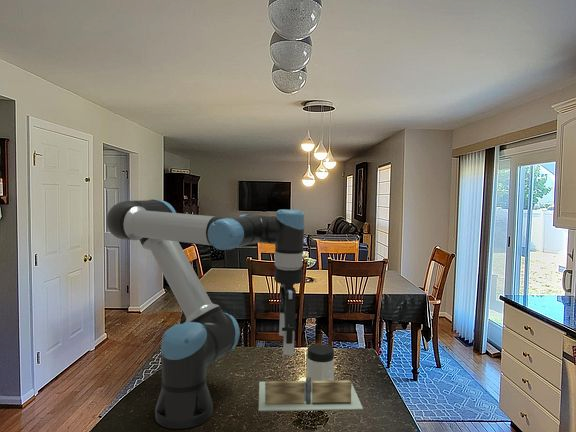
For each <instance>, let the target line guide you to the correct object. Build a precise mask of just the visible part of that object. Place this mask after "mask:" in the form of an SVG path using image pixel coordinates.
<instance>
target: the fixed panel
mask: <svg viewBox="0 0 576 432" xmlns="http://www.w3.org/2000/svg"><path fill="white" fill-rule="evenodd" d="M351 382H352V381H351V380H346V379H345V380H334V381H312V402H313V403H324V402H351V387H352V385H353V383H352V384H351Z"/></svg>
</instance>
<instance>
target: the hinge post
mask: <svg viewBox="0 0 576 432" xmlns="http://www.w3.org/2000/svg"><path fill="white" fill-rule="evenodd" d="M305 381H306V404H310V403H311V378H310V377H307V378H305Z"/></svg>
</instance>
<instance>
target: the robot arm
mask: <svg viewBox="0 0 576 432" xmlns="http://www.w3.org/2000/svg"><path fill="white" fill-rule="evenodd" d="M105 223H106V226H107V227H106V228H107V229H108V231H109V232H110V233H111V234H112V235H113V236H114V237H115V238H117V239H120V240H127V241H128V240H130V241H139V242H140V244H141V246H142V248H143V249H146V250H149V251H150V252H151V254H152V256H153V257H154V260H155V262H156V263H157V265H158V267H159V269H160V270H161V272H162V275H163V276H164V278H165V280H166V282H167V284H168V285H169V288H170V289H171V292H172V293H173V295H174V297H175V299H176V301H177V303H178V304H179V307H180V309H181V310H182V312H183V314H184V316H185V318H186V320H185V322H183V323H177V324H175V325H173V326H171V327H169V328H168V329H166V330H165V331H164V333H163V334H162V336H161V337H162V338H161V345H160V353H161V354H160V356H161V357H160V359H161V389H160V392H159V396H158V399H157V401H156V404H155V408H154V409H155V410H154V414H155V415H154V417H155V422H156V423H157V424H158V425H160V426H161V427H164V428H167V429H170V430H171V429H172V430H184V429H190V428H191V429H192V428H194V427H197V426H200V425H202V424H204V423H205V422H207V421H208V420H209V419H210V418H211V417H212V415H213V410H214V403H213V398H212V396H211V392H210V390H209V388H208V387H209V386H208V384H207V367H208V366H210V365H211V364H213V363H214V362H217V361H218V360H219V359H221V358H223V357H225V356H226V355H228V354H229V353H230V352H231V351H232V350H234V349H235V348H236V346H237V345H238V343H239V340H240V334H241V333H240V332H241V331H240V326H239V323H238V322H237V321H238V320H236V318H235V317H234V316H233V315H232V314H229V313H227V312H223V309H222V308H221V305H219V304H217V303H216V304H215V303H213V302H212V301H211V299H210V297H209V295H208V293H207V292H206V289H205V288H204V286H203V284H202V282H201V280H200V279H199V276H198V275H197V273H196V272H195V269H194V268H193V265H192V264H191V262H190V261H189V258H188V256H187V255H186V253H185V251H184V249H183V248H182V245H181V244H180V243H188V244H197V245H206V246H212V247H213V248H215V249H216V250H219V251H224V250H226V251H228V250H230V251H231V250H233V249H236V248H240V247H243V246H248V245H252V244H271V245H275V246H274V247H275V248H274V249H275V251H274V266H275V268H274V278H273V279H274V282H275V283H278V284H281V285H280V288H279V293H280V294H279V298H280V299H279V305H278V306H279V311H280V312H279V329H278V335H279V336H281V337H283V345H282V347H283V349H282V355H283V356H294V354H295V332H296V330H297V327H296V324H297V323H296V295H297V291H296V288H295V287H294V285H298V284H301V283H302V282H303V272H304V271H303V268H302V267H303V264H304V263H303V261H304V259H306V255H304V239H305V238H304V237H305V235H304V234H305V228H306V227H305V213H304V212H303V211H302V210H297V209H278V210H277V211H276V213H275V216H271V215H262V214H261V215H260V214H259V215H258V214H253V213H251V214H250V213H249V214H240V215H239V216H238V217H237V216H236V217H226V216H215V215H214V216H213V215H201V214H190V213H179V212H177V211H176V210H175V208H174V207H173V206H172V204H170V203H169V202H167V201H165V200H161V199H160V200H159V199H154V198H153V199H147V200H145V199H144V200H143V199H142V200H123V201H120V202H117V203H115V204H114V205H113V206H112V207H110V209H109V210H108V213H107V215H106V220H105Z"/></svg>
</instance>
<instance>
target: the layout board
mask: <svg viewBox="0 0 576 432" xmlns="http://www.w3.org/2000/svg"><path fill="white" fill-rule="evenodd" d="M303 381H304V403H265V381H259V382H258V383H259V385H258V387H259V389H258V391H259V392H258V412H298V411H301V412H304V411H306V412H307V411H360V410H361V411H362V410H364V407H363V405H362V403H361V401H360V399H359V396H358V394H357V391H356V389H355V387H354V385H353V382H352V381H351V384H352V387H351V402H324V403H313V402H312V391H311V403H310V404H306V380H303Z"/></svg>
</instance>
